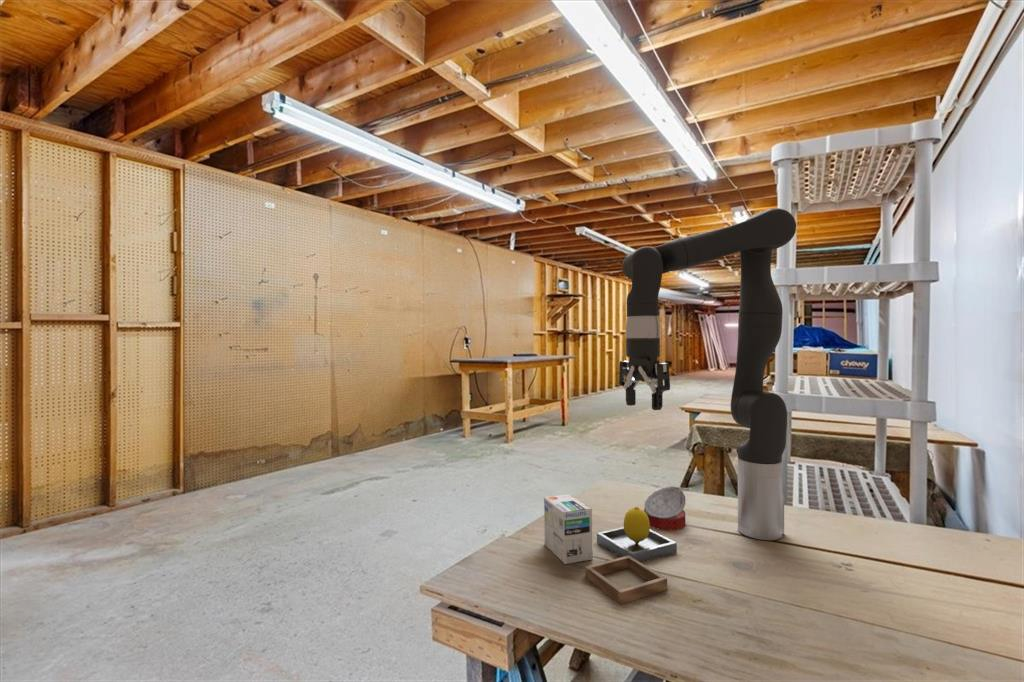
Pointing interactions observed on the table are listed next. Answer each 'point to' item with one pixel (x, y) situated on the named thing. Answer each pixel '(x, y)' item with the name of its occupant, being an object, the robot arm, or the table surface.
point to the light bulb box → (568, 528)
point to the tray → (636, 545)
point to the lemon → (636, 525)
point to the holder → (631, 593)
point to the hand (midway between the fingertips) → (643, 407)
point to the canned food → (666, 509)
